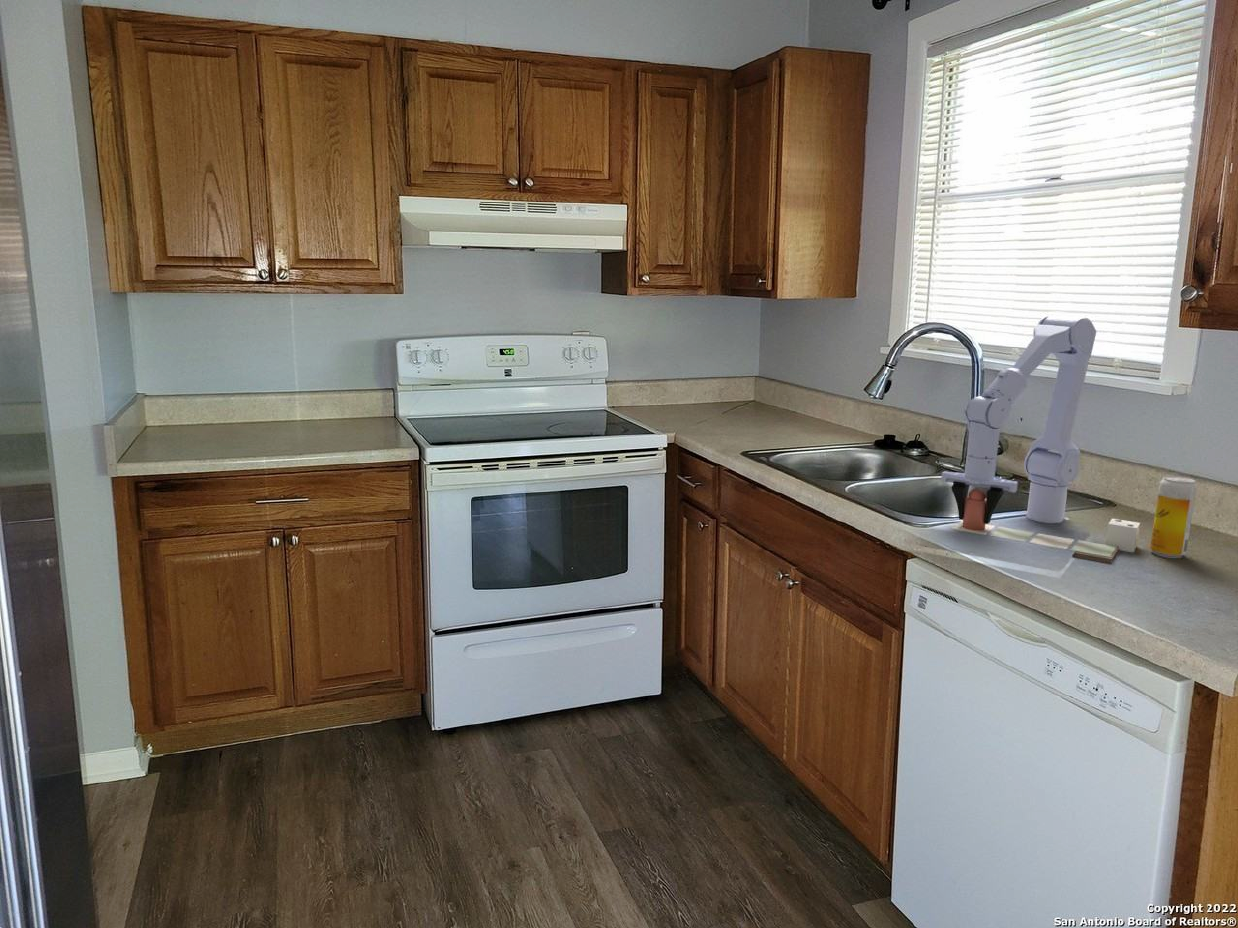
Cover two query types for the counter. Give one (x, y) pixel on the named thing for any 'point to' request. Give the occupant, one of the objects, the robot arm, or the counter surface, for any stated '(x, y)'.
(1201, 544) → the counter surface
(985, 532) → the board
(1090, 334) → the robot arm
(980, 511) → the pawn
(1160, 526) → the beer can
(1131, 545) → the die
